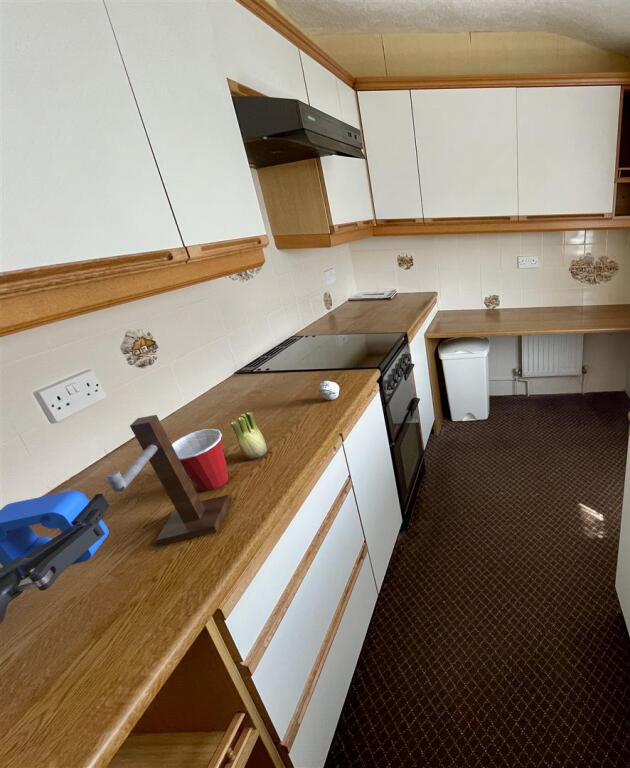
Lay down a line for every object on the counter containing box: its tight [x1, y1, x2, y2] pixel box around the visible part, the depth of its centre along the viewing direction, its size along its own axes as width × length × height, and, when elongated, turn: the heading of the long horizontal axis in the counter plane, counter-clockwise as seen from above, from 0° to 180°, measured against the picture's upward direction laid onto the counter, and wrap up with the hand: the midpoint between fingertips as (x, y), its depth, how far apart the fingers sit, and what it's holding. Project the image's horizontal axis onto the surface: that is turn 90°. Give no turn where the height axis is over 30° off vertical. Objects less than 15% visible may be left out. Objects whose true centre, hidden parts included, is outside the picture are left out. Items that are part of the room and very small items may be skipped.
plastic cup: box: [171, 428, 229, 492], centre depth 94 cm, size 11×11×12 cm
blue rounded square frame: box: [0, 490, 110, 578], centre depth 61 cm, size 5×10×10 cm, turn 108°
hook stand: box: [105, 414, 231, 547], centre depth 76 cm, size 19×10×25 cm, turn 18°
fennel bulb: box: [230, 411, 268, 460], centre depth 104 cm, size 6×5×12 cm
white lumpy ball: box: [318, 380, 340, 401], centre depth 132 cm, size 6×7×7 cm
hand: (62, 509), depth 65 cm, fingers closed on blue rounded square frame, 10 cm apart
